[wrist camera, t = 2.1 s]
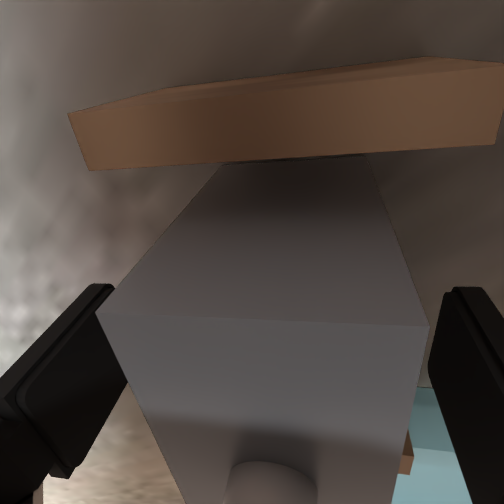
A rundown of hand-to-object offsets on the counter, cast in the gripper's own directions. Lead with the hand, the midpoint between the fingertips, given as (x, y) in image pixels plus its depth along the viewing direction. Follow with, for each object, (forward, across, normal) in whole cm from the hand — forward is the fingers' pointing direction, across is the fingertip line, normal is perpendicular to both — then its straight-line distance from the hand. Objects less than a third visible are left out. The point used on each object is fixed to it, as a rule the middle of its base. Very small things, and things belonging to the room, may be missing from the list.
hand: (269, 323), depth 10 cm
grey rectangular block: (+4, 0, 0) cm, 4 cm away
